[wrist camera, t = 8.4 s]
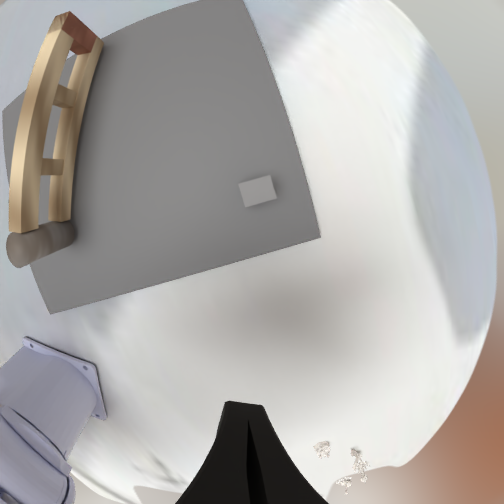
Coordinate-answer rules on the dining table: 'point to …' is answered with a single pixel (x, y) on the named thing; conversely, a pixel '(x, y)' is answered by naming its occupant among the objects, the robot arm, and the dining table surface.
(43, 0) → the dining table surface
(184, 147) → the base
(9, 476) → the robot arm
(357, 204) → the dining table surface
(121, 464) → the dining table surface
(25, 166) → the gate
